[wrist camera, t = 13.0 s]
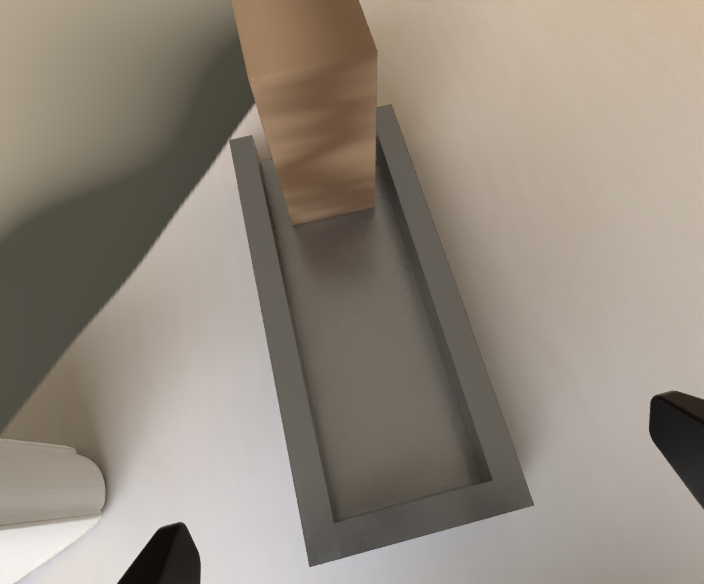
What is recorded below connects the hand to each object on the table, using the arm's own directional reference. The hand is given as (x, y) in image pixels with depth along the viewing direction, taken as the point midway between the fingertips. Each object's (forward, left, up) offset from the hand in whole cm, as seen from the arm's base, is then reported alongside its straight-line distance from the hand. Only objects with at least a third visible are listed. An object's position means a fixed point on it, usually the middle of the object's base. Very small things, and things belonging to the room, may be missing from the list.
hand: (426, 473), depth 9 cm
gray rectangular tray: (+7, -4, -14) cm, 16 cm away
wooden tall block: (+14, -8, -13) cm, 20 cm away
